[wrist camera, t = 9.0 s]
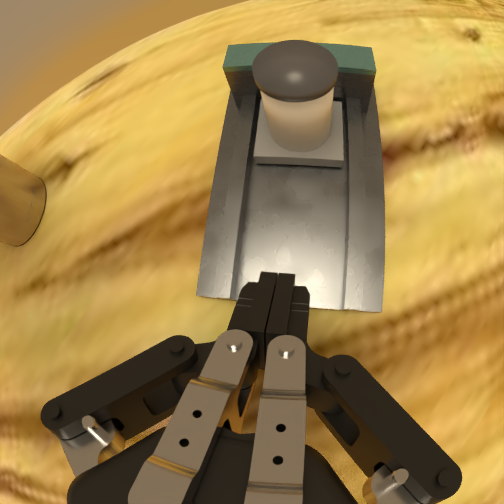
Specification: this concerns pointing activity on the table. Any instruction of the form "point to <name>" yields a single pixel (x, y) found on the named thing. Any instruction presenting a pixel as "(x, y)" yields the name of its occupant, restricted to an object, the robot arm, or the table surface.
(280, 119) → the knob carriage
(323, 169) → the knob mount
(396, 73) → the table surface
